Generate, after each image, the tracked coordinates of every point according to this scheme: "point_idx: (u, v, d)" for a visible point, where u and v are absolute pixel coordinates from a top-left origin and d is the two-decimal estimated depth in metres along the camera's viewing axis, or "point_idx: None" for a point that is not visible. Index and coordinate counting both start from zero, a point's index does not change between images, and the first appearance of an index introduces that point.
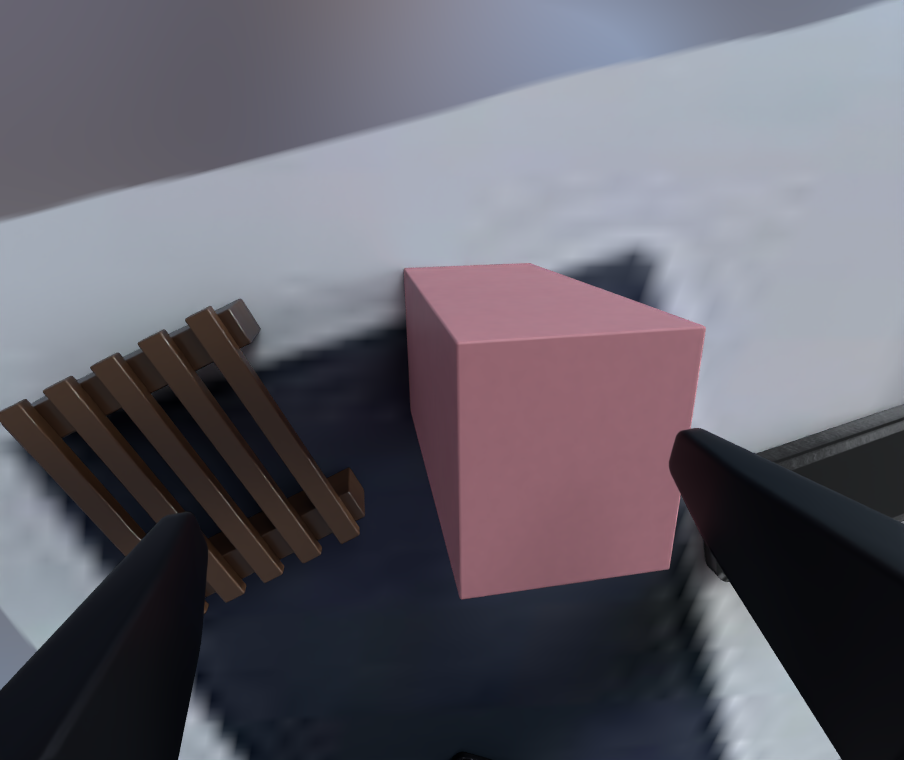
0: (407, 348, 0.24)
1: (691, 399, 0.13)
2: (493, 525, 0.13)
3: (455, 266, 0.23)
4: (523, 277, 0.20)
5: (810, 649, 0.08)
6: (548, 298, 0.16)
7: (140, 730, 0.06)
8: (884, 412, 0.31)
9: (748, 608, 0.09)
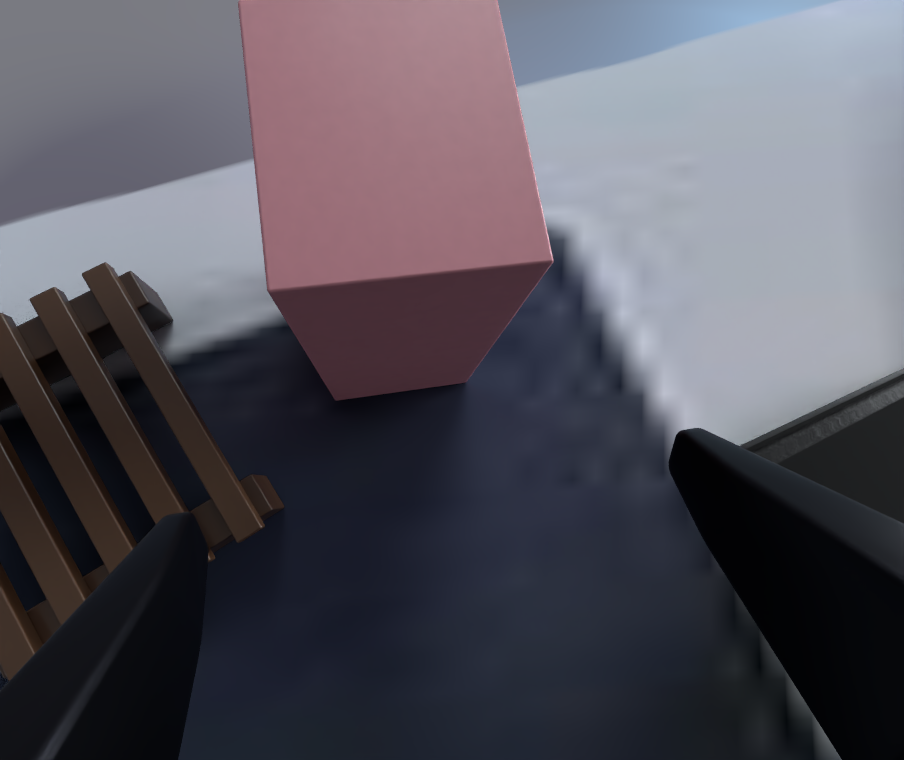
0: None
1: (505, 58, 0.12)
2: (300, 189, 0.11)
3: None
4: None
5: (810, 649, 0.08)
6: None
7: (140, 730, 0.06)
8: (899, 370, 0.26)
9: (748, 608, 0.09)
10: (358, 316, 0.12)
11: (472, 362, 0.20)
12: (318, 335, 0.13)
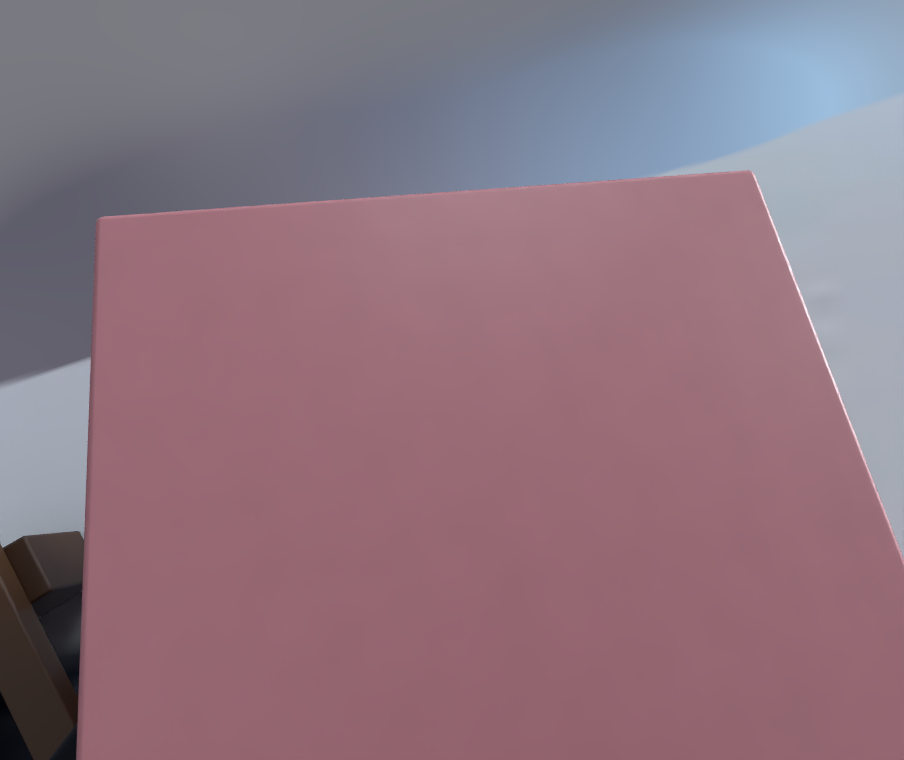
0: None
1: (810, 344, 0.04)
2: None
3: None
4: None
5: None
6: None
7: None
8: None
9: None
10: None
11: None
12: None
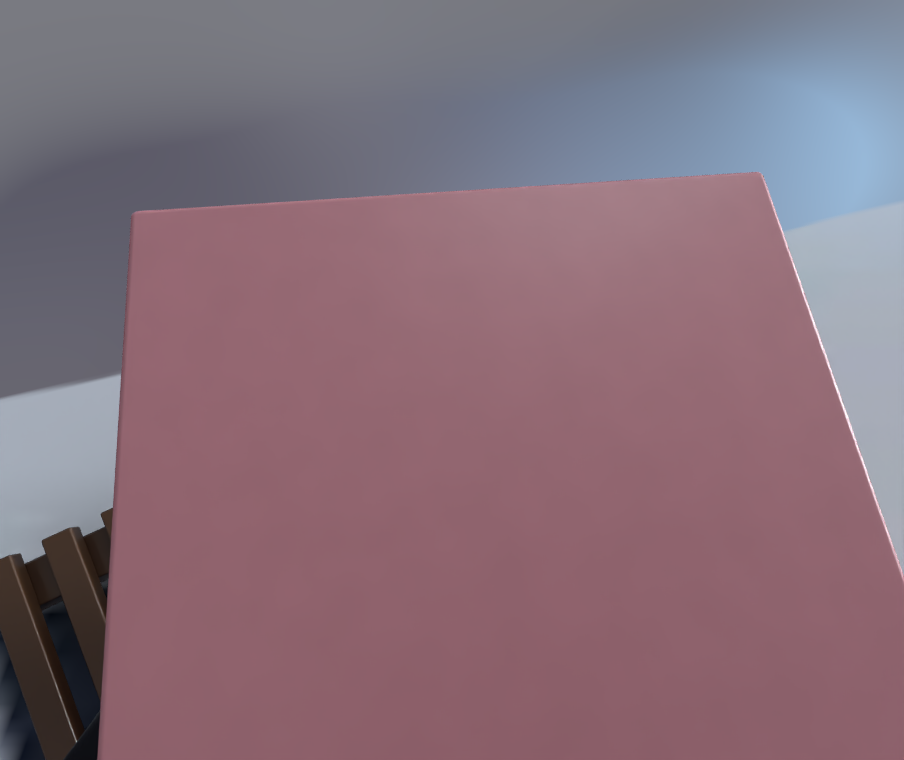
0: None
1: (811, 344, 0.05)
2: None
3: None
4: None
5: None
6: None
7: None
8: None
9: None
10: None
11: None
12: None
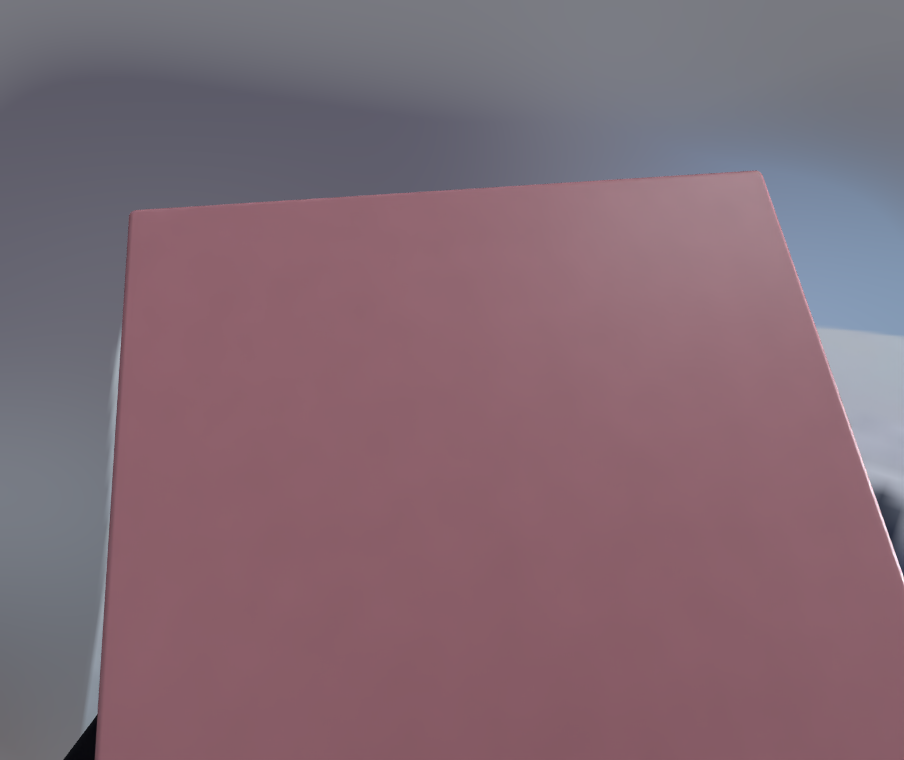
0: None
1: (810, 342, 0.05)
2: None
3: None
4: None
5: None
6: None
7: None
8: None
9: None
10: None
11: None
12: None
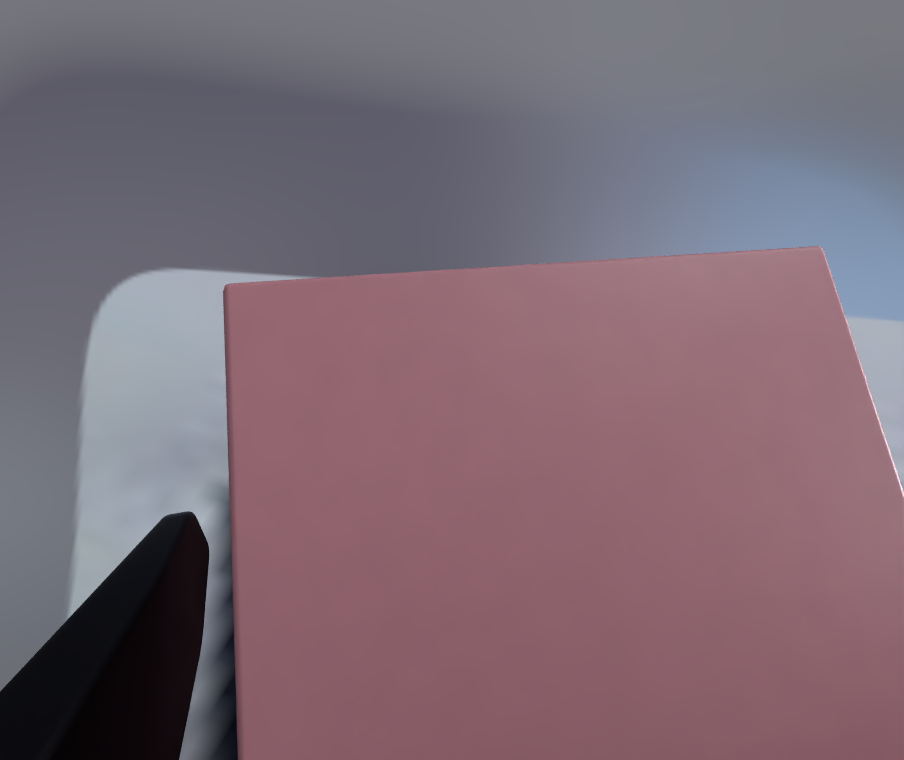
0: None
1: (869, 418, 0.05)
2: None
3: None
4: None
5: None
6: None
7: (141, 730, 0.06)
8: None
9: None
10: None
11: None
12: None
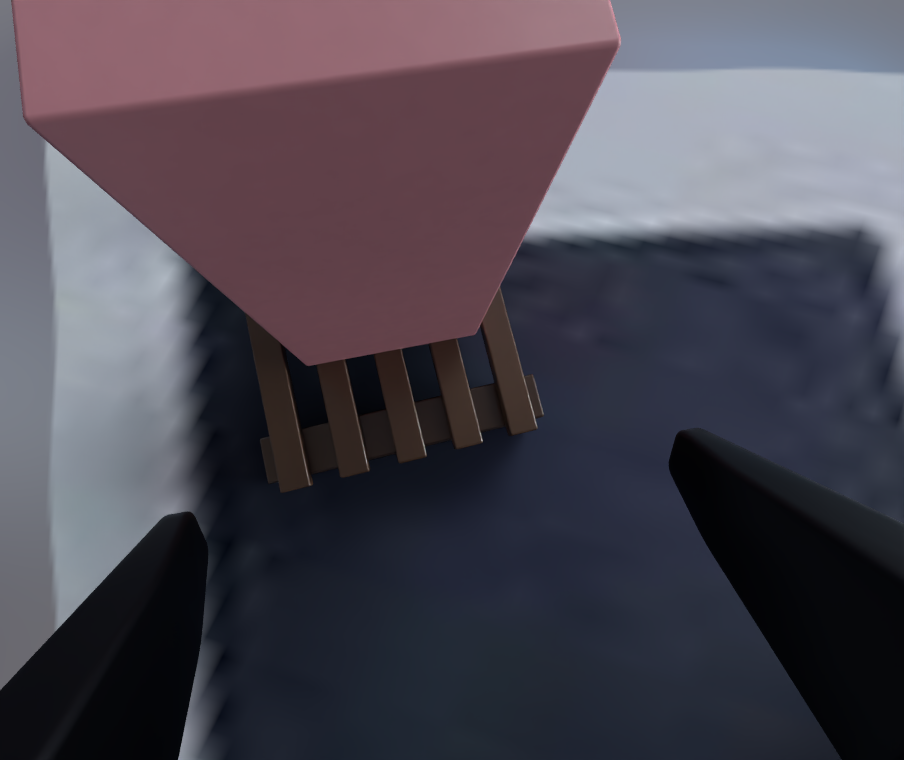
0: None
1: None
2: None
3: None
4: None
5: (810, 649, 0.08)
6: None
7: (140, 730, 0.06)
8: None
9: (748, 608, 0.09)
10: (265, 201, 0.07)
11: (480, 302, 0.14)
12: (213, 250, 0.08)
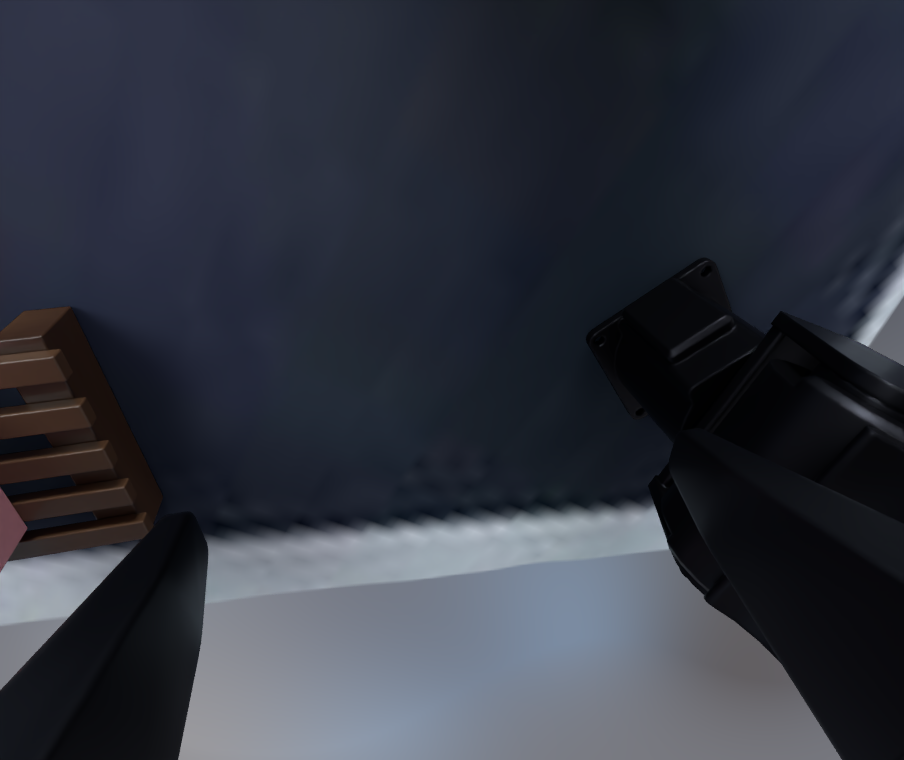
0: None
1: None
2: None
3: None
4: None
5: (810, 649, 0.08)
6: None
7: (140, 730, 0.06)
8: None
9: (748, 608, 0.09)
10: None
11: None
12: None
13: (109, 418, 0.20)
